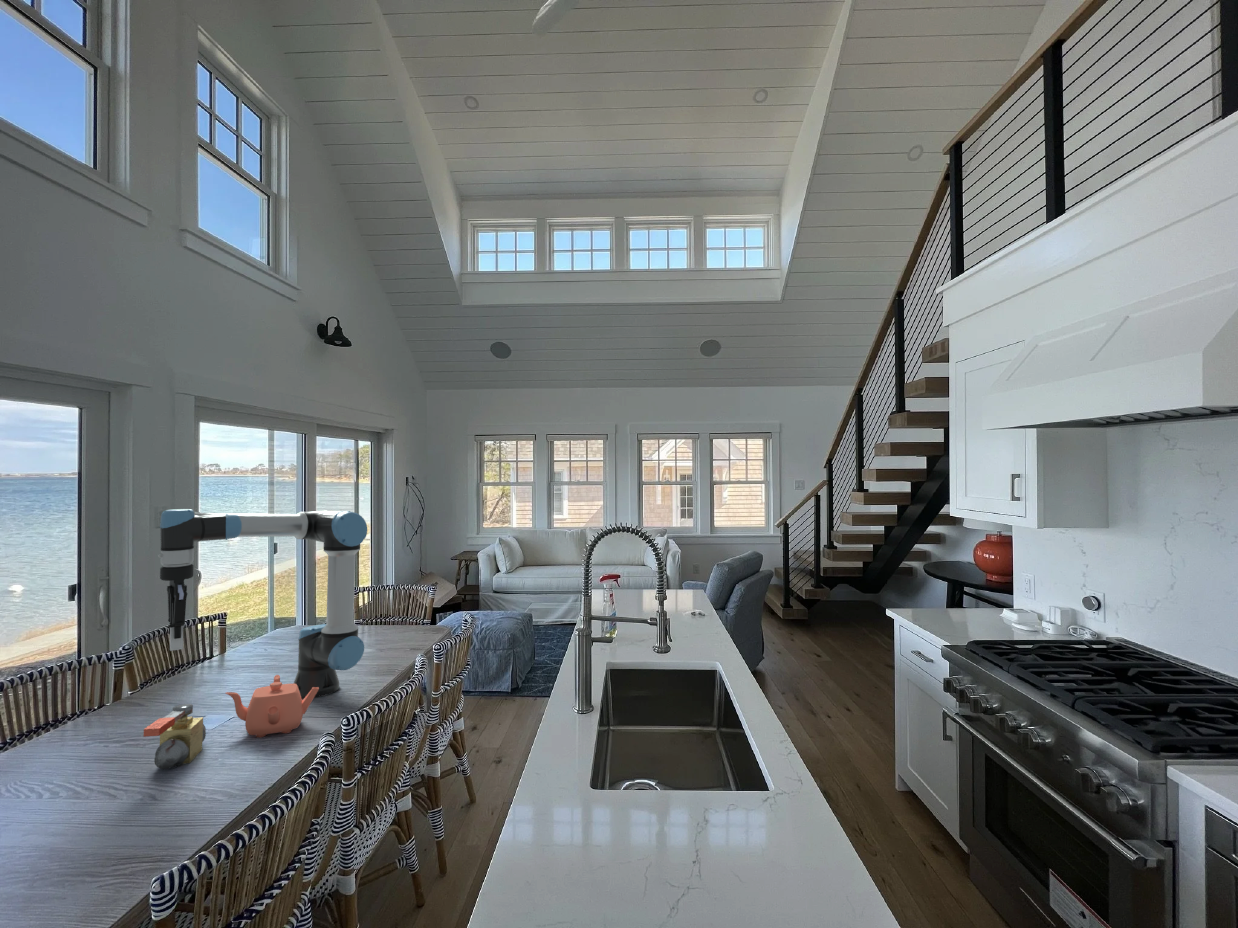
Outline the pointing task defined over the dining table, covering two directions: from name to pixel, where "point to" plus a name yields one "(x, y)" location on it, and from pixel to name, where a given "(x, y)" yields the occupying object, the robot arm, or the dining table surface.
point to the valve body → (180, 743)
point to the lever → (168, 720)
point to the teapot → (273, 708)
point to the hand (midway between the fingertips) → (176, 649)
